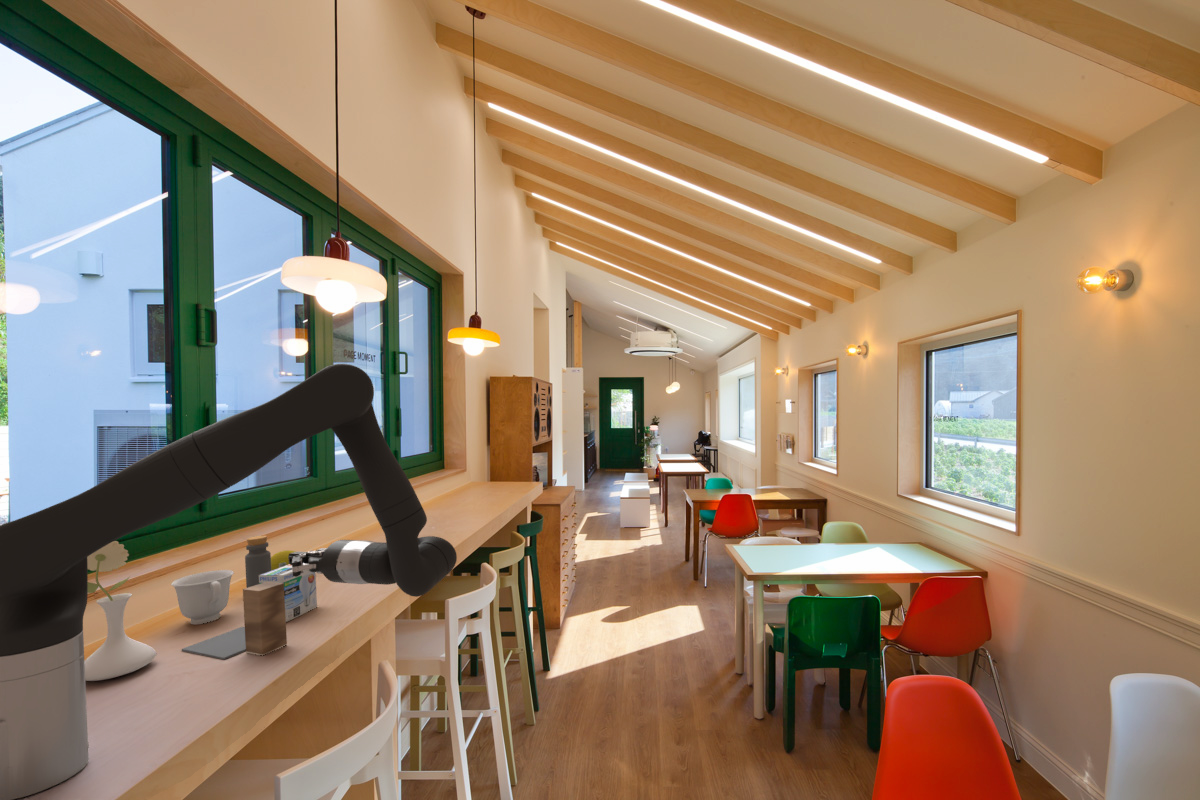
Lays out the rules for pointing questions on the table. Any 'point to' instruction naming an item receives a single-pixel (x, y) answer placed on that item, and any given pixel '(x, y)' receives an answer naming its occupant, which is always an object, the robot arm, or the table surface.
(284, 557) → the lemon
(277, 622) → the walnut block
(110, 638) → the flower in vase
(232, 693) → the table surface
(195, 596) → the teacup
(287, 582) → the light bulb box
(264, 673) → the table surface
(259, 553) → the bottle
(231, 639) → the slate mat
